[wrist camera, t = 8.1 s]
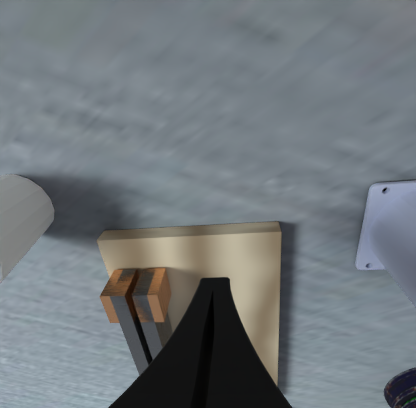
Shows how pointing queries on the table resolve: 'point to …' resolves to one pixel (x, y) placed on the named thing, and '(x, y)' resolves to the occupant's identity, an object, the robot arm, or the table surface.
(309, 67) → the table surface
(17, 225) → the white cup
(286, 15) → the table surface
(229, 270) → the board
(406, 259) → the robot arm
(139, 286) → the arm
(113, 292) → the tongs fixed arm
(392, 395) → the storage jar
